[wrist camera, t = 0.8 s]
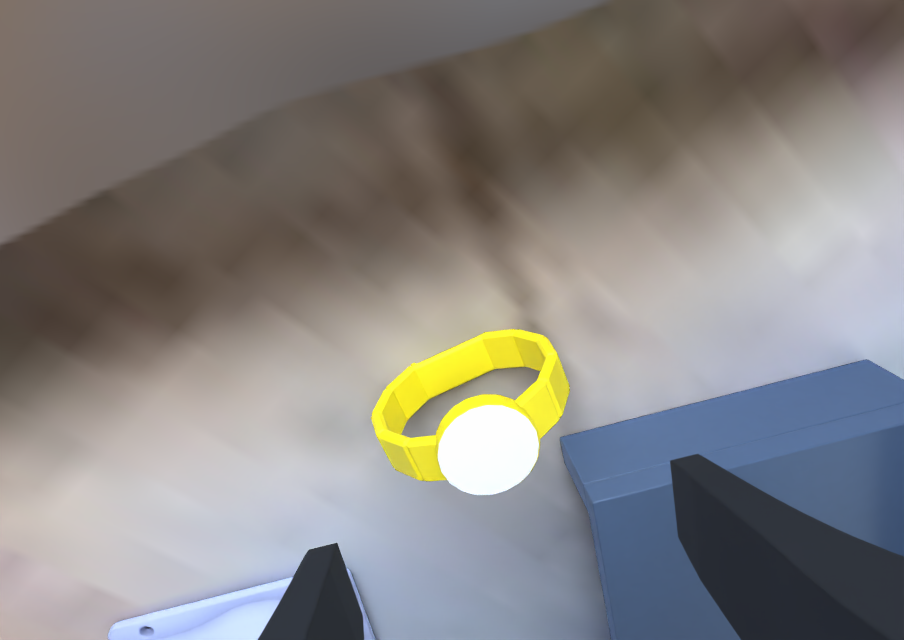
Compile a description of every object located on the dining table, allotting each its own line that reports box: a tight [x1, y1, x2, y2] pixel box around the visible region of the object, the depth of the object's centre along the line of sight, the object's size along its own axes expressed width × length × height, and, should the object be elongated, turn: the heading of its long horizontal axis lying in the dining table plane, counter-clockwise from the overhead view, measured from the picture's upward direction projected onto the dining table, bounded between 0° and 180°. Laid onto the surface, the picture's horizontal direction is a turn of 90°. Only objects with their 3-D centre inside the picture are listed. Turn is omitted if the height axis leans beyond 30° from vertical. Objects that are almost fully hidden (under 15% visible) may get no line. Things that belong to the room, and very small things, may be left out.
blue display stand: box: [560, 360, 904, 640], centre depth 23 cm, size 12×12×6 cm
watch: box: [371, 329, 570, 495], centre depth 19 cm, size 6×3×6 cm, turn 112°
